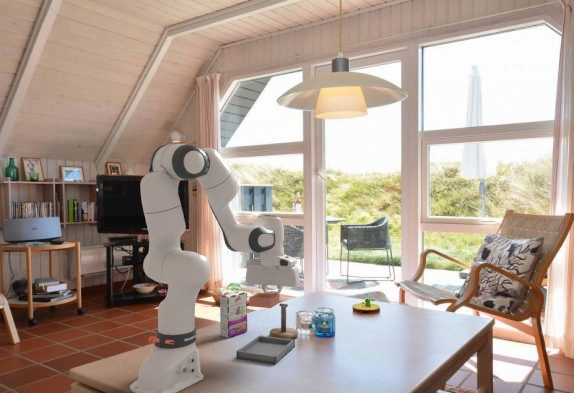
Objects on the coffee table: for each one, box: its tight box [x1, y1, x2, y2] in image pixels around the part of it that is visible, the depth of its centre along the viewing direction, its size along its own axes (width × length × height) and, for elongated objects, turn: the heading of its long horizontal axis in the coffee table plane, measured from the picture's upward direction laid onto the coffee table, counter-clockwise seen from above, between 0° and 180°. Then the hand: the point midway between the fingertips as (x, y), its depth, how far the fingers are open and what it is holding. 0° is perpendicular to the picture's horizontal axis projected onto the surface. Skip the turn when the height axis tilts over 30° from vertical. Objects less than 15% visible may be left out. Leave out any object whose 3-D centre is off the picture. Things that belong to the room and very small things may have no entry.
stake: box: [269, 303, 298, 340], centre depth 181 cm, size 11×11×13 cm
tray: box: [235, 335, 296, 365], centre depth 163 cm, size 19×15×2 cm
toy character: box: [360, 297, 375, 308], centre depth 221 cm, size 11×12×7 cm
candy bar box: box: [219, 290, 248, 339], centre depth 184 cm, size 11×5×16 cm, turn 143°
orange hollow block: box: [248, 290, 280, 309], centre depth 163 cm, size 12×8×3 cm, turn 159°
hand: (272, 297), depth 167 cm, fingers closed on orange hollow block, 2 cm apart
